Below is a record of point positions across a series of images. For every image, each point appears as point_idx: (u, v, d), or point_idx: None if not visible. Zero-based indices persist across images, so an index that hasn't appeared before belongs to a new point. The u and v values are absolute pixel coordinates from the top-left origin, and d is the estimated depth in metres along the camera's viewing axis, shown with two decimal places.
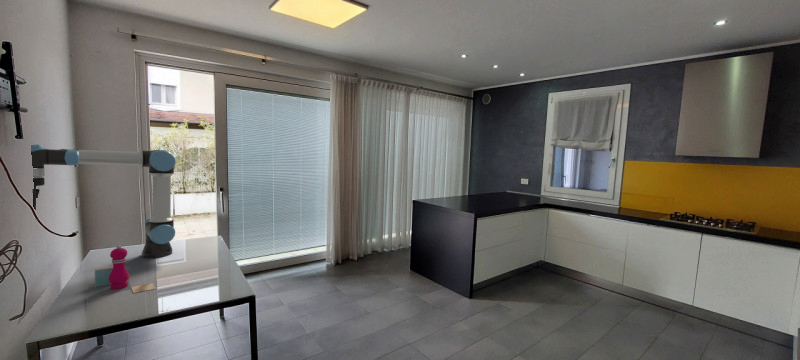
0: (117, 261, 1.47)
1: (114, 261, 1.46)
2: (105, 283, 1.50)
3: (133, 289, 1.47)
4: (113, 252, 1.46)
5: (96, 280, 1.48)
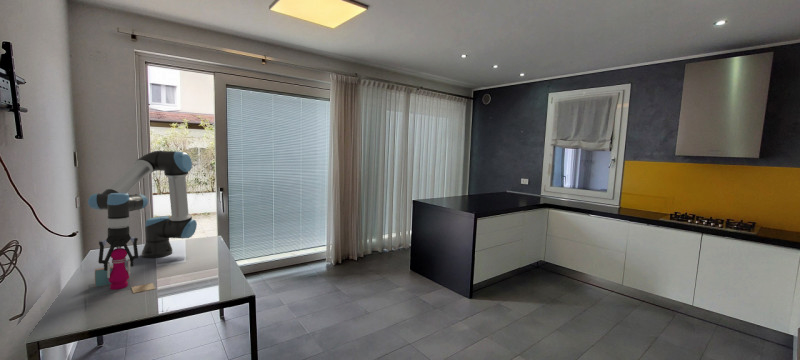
0: (117, 261, 1.47)
1: (114, 261, 1.46)
2: (105, 283, 1.50)
3: (133, 289, 1.47)
4: (113, 252, 1.46)
5: (96, 280, 1.48)
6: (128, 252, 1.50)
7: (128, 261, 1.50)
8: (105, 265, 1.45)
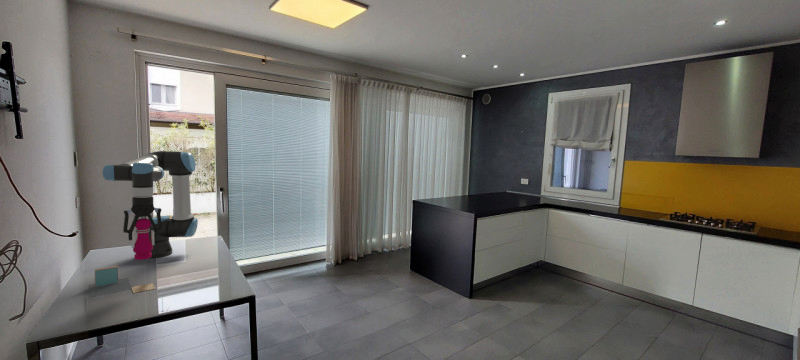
0: (141, 230, 1.46)
1: (139, 231, 1.45)
2: (105, 283, 1.50)
3: (133, 289, 1.47)
4: (138, 222, 1.45)
5: (96, 280, 1.48)
6: (152, 222, 1.49)
7: (152, 232, 1.49)
8: (130, 235, 1.44)
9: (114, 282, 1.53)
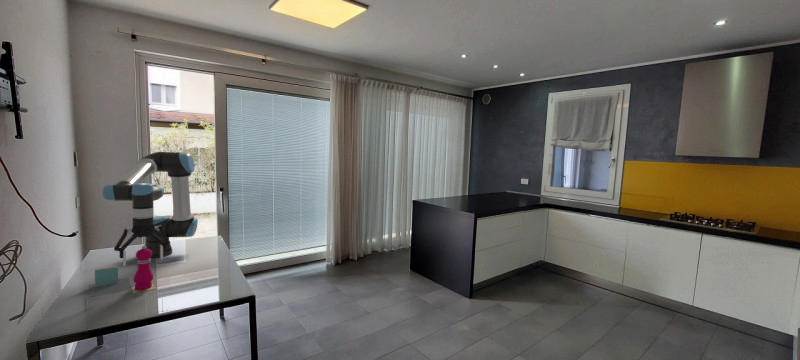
0: (142, 261, 1.47)
1: (139, 261, 1.46)
2: (105, 283, 1.50)
3: (133, 289, 1.47)
4: (139, 252, 1.46)
5: (96, 280, 1.48)
6: (158, 239, 1.51)
7: (161, 246, 1.52)
8: (121, 252, 1.42)
9: (114, 282, 1.53)
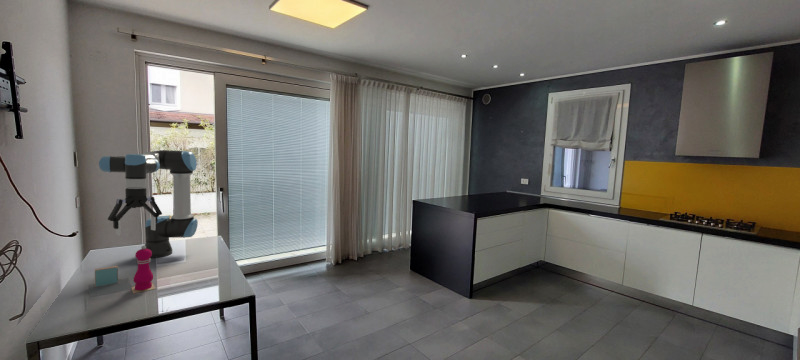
0: (142, 261, 1.47)
1: (139, 262, 1.46)
2: (105, 283, 1.50)
3: (133, 289, 1.47)
4: (138, 253, 1.46)
5: (96, 280, 1.48)
6: (151, 210, 1.53)
7: (153, 217, 1.54)
8: (116, 223, 1.42)
9: (114, 282, 1.53)
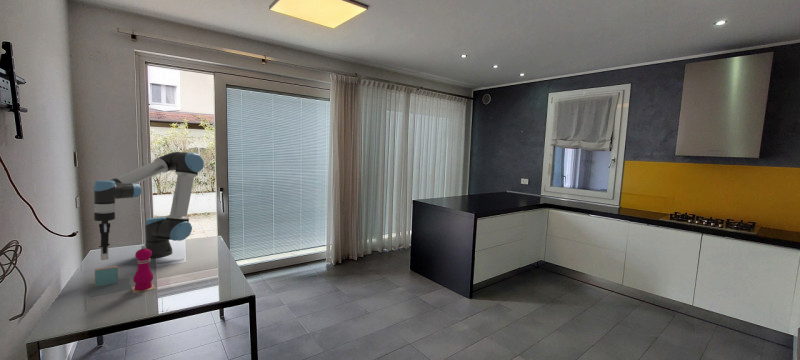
0: (142, 261, 1.47)
1: (139, 261, 1.46)
2: (105, 283, 1.50)
3: (133, 289, 1.47)
4: (138, 252, 1.46)
5: (96, 280, 1.48)
6: None
7: None
8: (106, 248, 1.57)
9: (114, 282, 1.53)
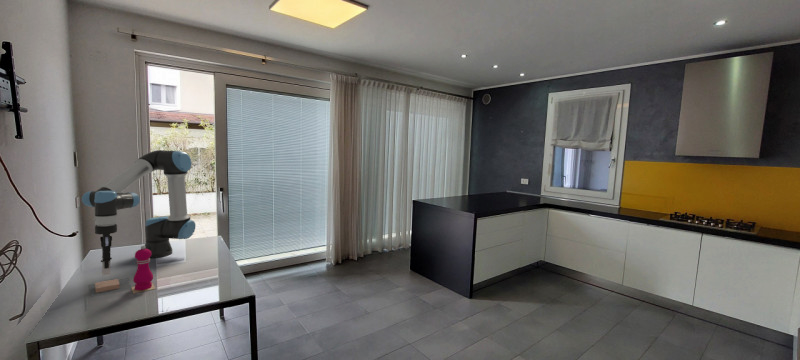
0: (141, 261, 1.47)
1: (139, 262, 1.46)
2: None
3: (133, 289, 1.47)
4: (138, 253, 1.46)
5: None
6: None
7: None
8: (108, 262, 1.48)
9: None
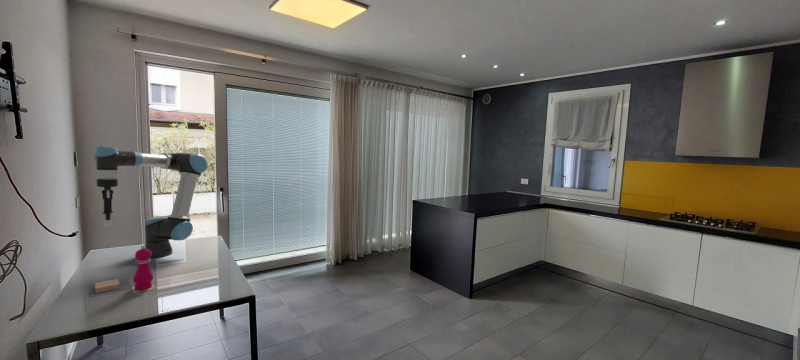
0: (142, 261, 1.47)
1: (139, 262, 1.46)
2: None
3: (133, 289, 1.47)
4: (138, 253, 1.46)
5: None
6: None
7: (111, 213, 1.57)
8: (109, 214, 1.56)
9: None
